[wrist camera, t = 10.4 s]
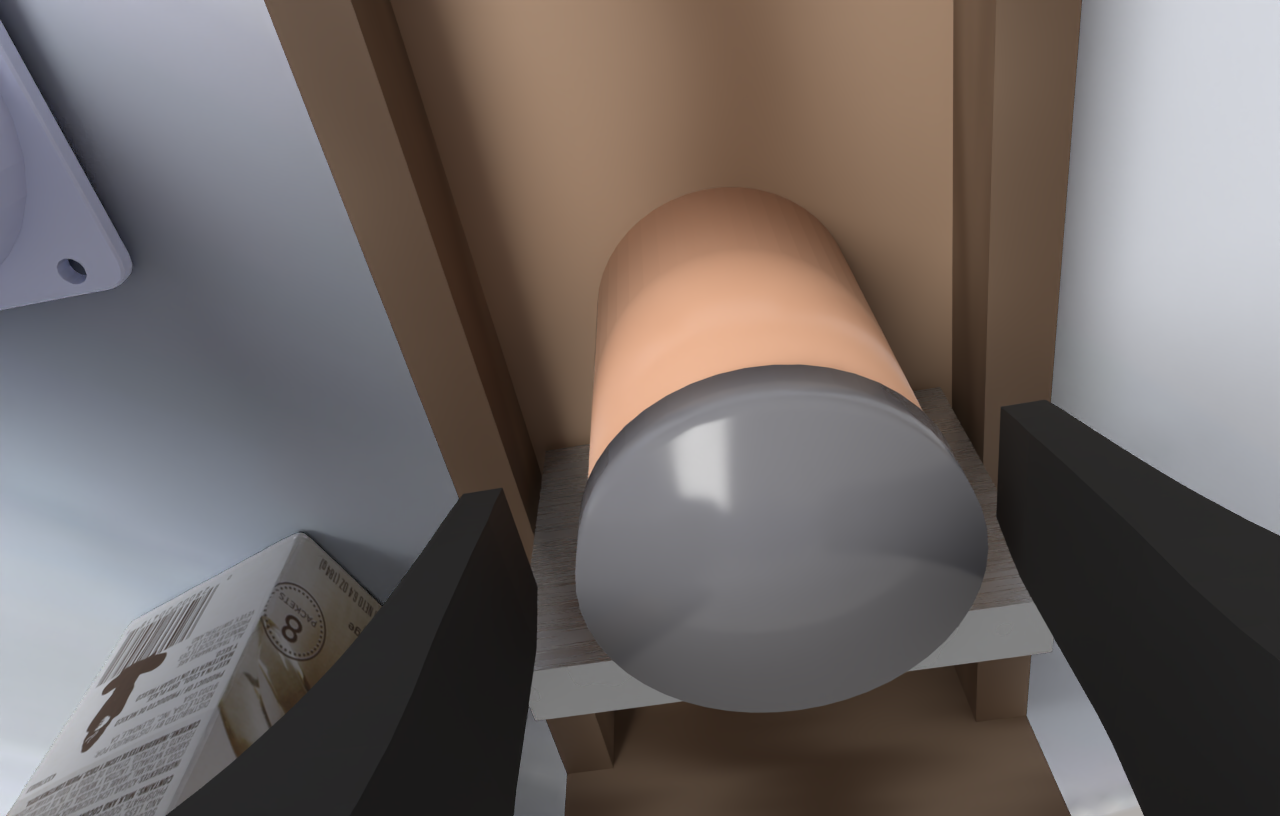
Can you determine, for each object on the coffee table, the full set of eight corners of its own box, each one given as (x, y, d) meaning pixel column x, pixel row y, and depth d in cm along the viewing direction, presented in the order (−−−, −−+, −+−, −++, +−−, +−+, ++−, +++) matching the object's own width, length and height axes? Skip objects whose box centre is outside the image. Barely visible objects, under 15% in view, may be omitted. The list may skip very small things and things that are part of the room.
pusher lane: (571, 721, 25) (559, 921, 21) (223, -227, 13) (4, -254, 8) (1001, 664, 24) (1088, 862, 20) (1056, -432, 12) (1323, -590, 7)
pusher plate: (558, 493, 20) (535, 720, 15) (546, 451, 19) (516, 673, 14) (940, 433, 19) (1052, 652, 14) (939, 386, 18) (1057, 598, 13)
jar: (621, 436, 19) (621, 734, 13) (564, 211, 16) (528, 452, 10) (862, 396, 19) (984, 684, 12) (846, 156, 16) (994, 373, 10)
